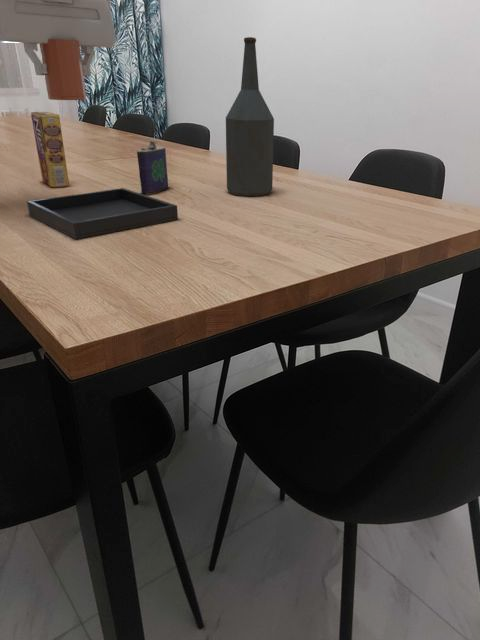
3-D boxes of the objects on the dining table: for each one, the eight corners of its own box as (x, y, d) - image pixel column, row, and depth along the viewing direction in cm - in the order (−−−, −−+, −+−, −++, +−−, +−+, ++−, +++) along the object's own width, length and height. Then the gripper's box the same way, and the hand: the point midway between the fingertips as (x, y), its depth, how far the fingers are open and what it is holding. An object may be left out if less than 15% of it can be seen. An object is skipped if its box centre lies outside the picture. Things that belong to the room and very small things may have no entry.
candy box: (71, 186, 116) (59, 113, 109) (52, 188, 114) (38, 114, 107) (60, 180, 123) (48, 111, 115) (42, 181, 120) (28, 111, 113)
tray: (76, 239, 80) (73, 223, 79) (29, 215, 93) (26, 201, 92) (178, 219, 92) (177, 205, 91) (124, 200, 105) (123, 187, 103)
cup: (58, 100, 86) (48, 38, 81) (42, 98, 90) (32, 39, 85) (92, 99, 90) (85, 40, 85) (76, 98, 94) (68, 41, 89)
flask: (161, 186, 118) (157, 137, 112) (172, 188, 117) (169, 138, 111) (138, 194, 110) (133, 142, 105) (149, 195, 109) (145, 143, 104)
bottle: (264, 186, 120) (267, 39, 105) (277, 195, 111) (282, 36, 97) (222, 188, 117) (219, 37, 102) (232, 197, 109) (230, 34, 94)
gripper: (99, -12, 90) (109, 76, 96) (-24, -29, 77) (-3, 74, 84) (117, -16, 86) (126, 77, 92) (-10, -33, 73) (11, 75, 80)
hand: (63, 75), depth 88 cm, fingers closed on cup, 6 cm apart
